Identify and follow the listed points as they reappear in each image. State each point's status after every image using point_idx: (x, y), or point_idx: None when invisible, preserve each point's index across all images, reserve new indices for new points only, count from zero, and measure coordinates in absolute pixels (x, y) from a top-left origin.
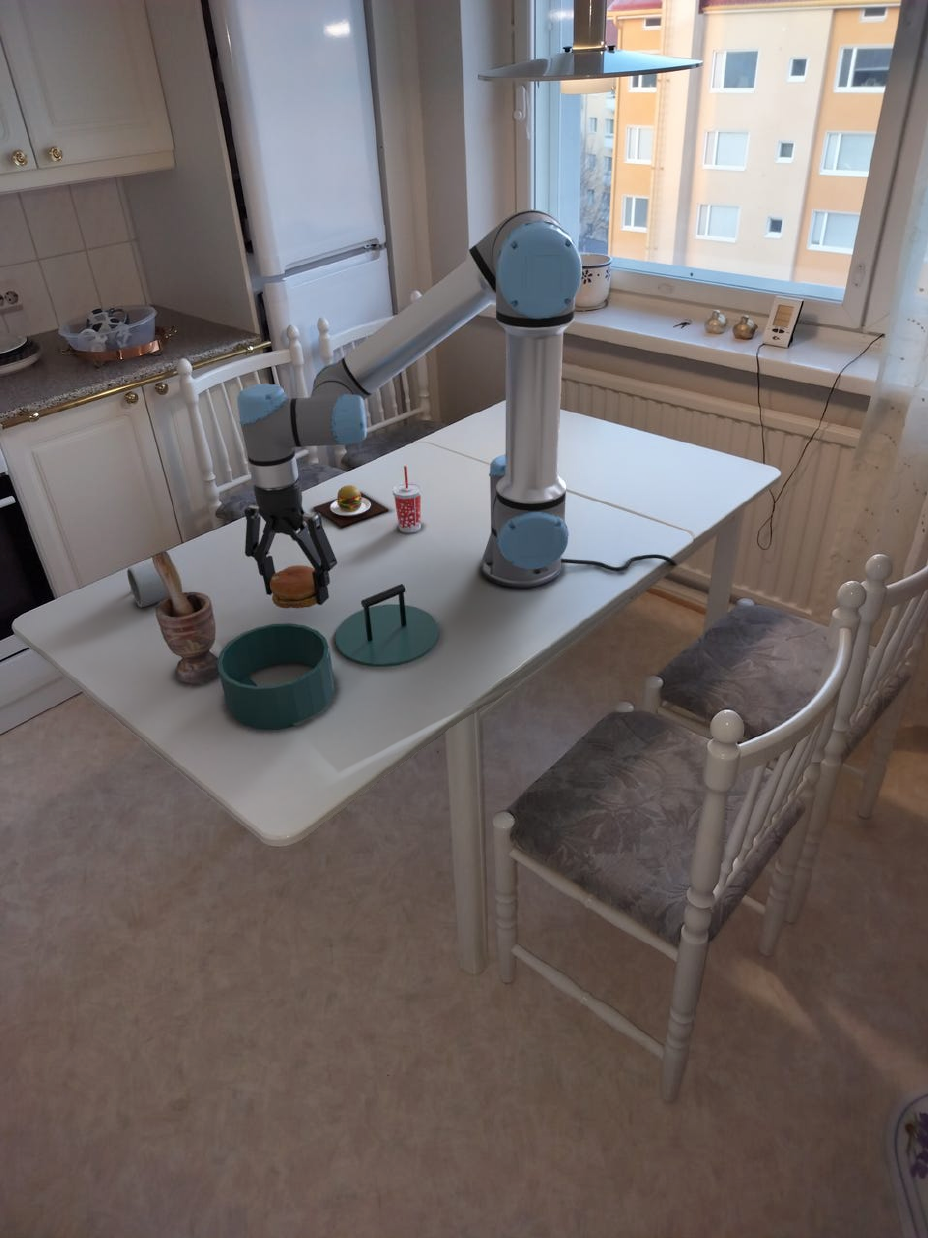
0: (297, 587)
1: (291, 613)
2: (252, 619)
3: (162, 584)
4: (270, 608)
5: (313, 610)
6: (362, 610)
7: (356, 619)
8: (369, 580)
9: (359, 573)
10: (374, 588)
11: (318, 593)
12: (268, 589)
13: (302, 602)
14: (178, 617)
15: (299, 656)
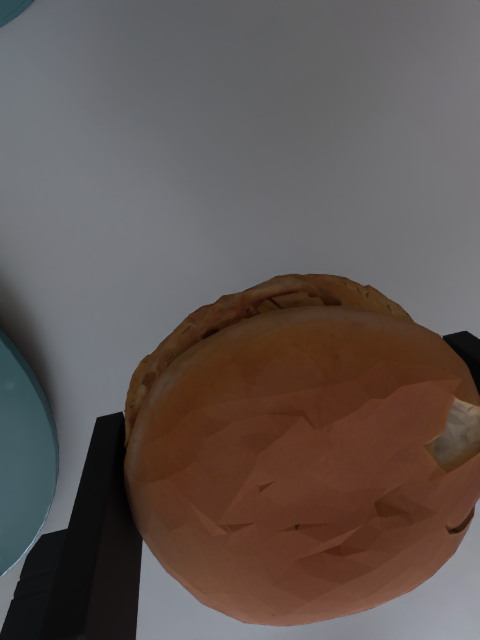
0: (208, 429)
1: None
2: (458, 218)
3: None
4: (433, 323)
5: None
6: (43, 507)
7: (8, 453)
8: (210, 627)
9: (271, 632)
10: (157, 609)
11: (87, 471)
12: (468, 351)
13: (155, 358)
14: None
15: None
